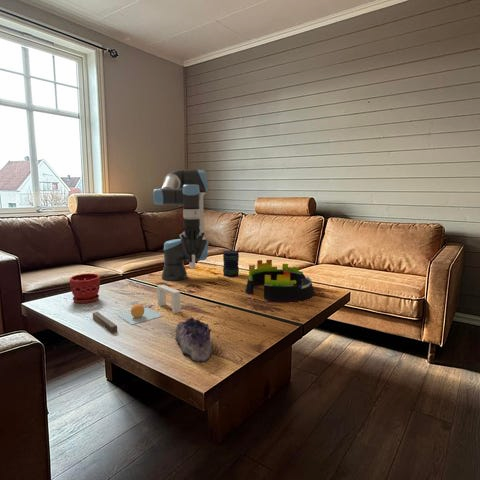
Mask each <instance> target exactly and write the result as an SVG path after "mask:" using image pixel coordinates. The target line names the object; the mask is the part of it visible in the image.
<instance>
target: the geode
mask: <svg viewBox="0 0 480 480" xmlns="http://www.w3.org/2000/svg"><path fill="white" fill-rule="evenodd" d="M174 331H175V338H174V340H175V341H176V343H178V344H179V348H180V350H181V352H182V354H183V355H186V356H188V357H190V358H191V361H192V362H194V363H206V362H207V361H209V359H210V358H211V357H212V354H213V347H212V342H211V331H212V329H211V328H209V324H208V323H205V322H202V321H200V319H198V318H194V317H190V318H187V319H186V320H185V321H179V322H178V323H177V325H176V328H175V329H174Z"/></svg>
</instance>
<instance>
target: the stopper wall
mask: <svg viewBox="0 0 480 480" xmlns="http://www.w3.org/2000/svg"><path fill="white" fill-rule="evenodd" d="M92 320H94V321H95V322H97V323H98V324H100V326H102V327H103V328H105V330H107V331H108V332H109V333H111V334H114V333H115V334H116V333H118V325H117V324H115V323H114V322H113V321H112V320H110V319H109V318H108V317H106V316H105V315H103V314H102V313H100V312H99V311H94V312H92Z"/></svg>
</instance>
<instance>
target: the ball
mask: <svg viewBox="0 0 480 480" xmlns="http://www.w3.org/2000/svg"><path fill="white" fill-rule="evenodd" d="M144 308H145V307H144V306H143V305H141V304H139V303H138V304H134V305H133V306H132V307H131V309H130V312H131V314H132V316H133V317H135V318H139V317H141V316H142V315H143V314H144Z"/></svg>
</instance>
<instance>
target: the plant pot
mask: <svg viewBox="0 0 480 480" xmlns="http://www.w3.org/2000/svg"><path fill="white" fill-rule="evenodd" d="M69 287H70V289H71V293H72V295H73V297H72V301H73V302H75V303H77V304H88V303H93V302H95V301H97V300H98V299H99V298H100V294H99V291H100V287H101V276H100V275H99V274H97V273H80V274H76V275H73V276H71V277H69Z"/></svg>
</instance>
